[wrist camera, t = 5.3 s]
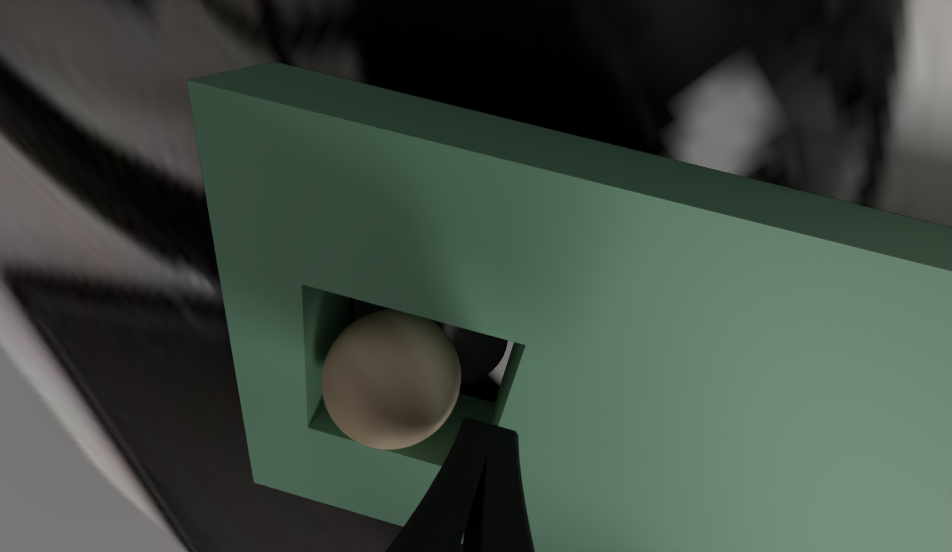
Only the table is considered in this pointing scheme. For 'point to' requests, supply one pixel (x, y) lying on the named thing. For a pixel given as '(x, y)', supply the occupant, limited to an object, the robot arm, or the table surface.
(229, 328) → the putting board
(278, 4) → the table surface
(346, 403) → the maple ball
